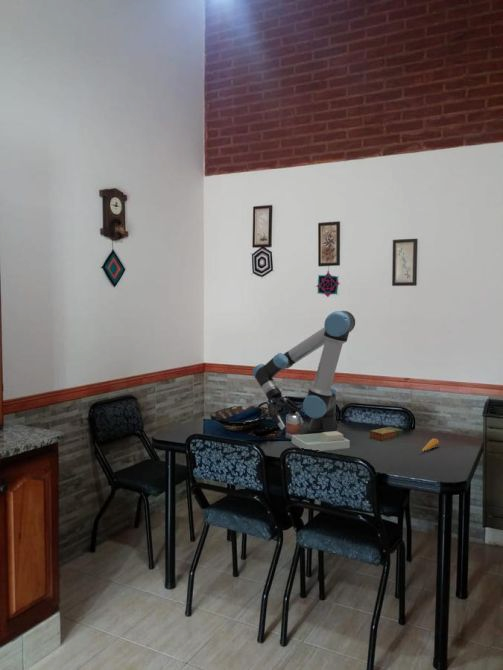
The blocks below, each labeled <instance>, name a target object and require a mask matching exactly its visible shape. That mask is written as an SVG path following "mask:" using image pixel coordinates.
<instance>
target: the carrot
mask: <svg viewBox="0 0 503 670" xmlns="http://www.w3.org/2000/svg"><path fill="white" fill-rule="evenodd" d="M437 445H439V446H440V441H439V439H437V438H432V439H430V440H429V441H428V442H427V443H426V444H425V446H423V448H422V449H421V450H422V451H424V450H427V449H430V448H433V447H435V446H437ZM437 447H438V446H437Z"/></svg>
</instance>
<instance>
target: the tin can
mask: <svg viewBox="0 0 503 670" xmlns="http://www.w3.org/2000/svg"><path fill="white" fill-rule="evenodd" d="M299 414H300V413H299ZM299 414H294V413H288V414H286V417H285V421H286V422H285V438H286V439H289V440H292V436H293V435H301V425H300V424H301V422H300V420H301V418H302V415H301V414H300V415H299Z"/></svg>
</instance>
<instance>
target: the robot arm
mask: <svg viewBox="0 0 503 670" xmlns="http://www.w3.org/2000/svg"><path fill="white" fill-rule="evenodd" d="M324 320H325V321H324V326H323V327H322V328H321V329H319V330H318V331H317V332H314V333H313V334H312V335H310V336H308V337H307V338H305V339H304V340H302V341H301V342H299V343H298V344H296V345H294V347H291V348H290V349H289V350H288V351H286V352H284V353H281V352H277V354H275V355H274V356H273V357H272V358H270V360H269V361H268V362H267V363H266V364H264V363H260V364H257V365H256V366H254V367H253V368H252V371H251V372H252V374H253V377H254V378H255V380H256V382H257V383H258V385H259V386H260V388H261V389H262V391H263V393H264V395H265V396H266V399H267V401H266V402H265V403H266V405H267V410H268V418H270V419H271V420H274V421H275V423H276V424H277V425H278V427H279V428H280V430H281V431H283V430H284V429H285V428H286V424H285V423H284V422H283V420H282V419H281V417H280V415H278V411H279V410H278V409H279V408H284V409H286V410H288V411H289V412H291V414H299V415H301V414H300V412H299V411H300V410H301V408H300V407H298V405H296V404H295V402H293V401H292V400H291V399H290V398H289V397H288V396H287V395H286V396H283V395H282V391H281V390H280V388H279V386H278V385H277V383H276V381H275V380H274V377H275V376H276V375H277V374H279V372H281V371H284V370H286V369H289V368H291V367H292V366H293V365H295V364H296V363H298V362H299V361H301V360H302V359H304V358H306V357H307V356H309V355H310V354H312V353H314V352H315V351H317V350H318V349H320V348H321V347H323V348H322V352H321V355H320V359H319V363H318V365H317V371H316V374H315V377H314V382H313V385H311V386H309V389H308V392H307V395H306V397H305V398H304V400H303V402H302V409H303V411H304V413H305V415H307V416H308V417H309V418H311V421H310V422H309V426H308V431H309V432H310V433H311V434H316V433H322V432H333V431H338V432H339V426H338V423H337V419H336V408H337V407H336V404H337V403H336V402H337V398H336V397H337V392H336V391H337V390H336V389H335V388H332V384H333V381H334V377H335V373H336V370H337V366H338V362H339V359H340V355H341V352H342V348H343V344H345V343H347V342H348V338H349V336H350V333H351V332H352V331H354V329H355V326H356V318H355V316H354V315H353V313H351V312H350V311H347V310H337V311H336V310H335V311H333V312H331V313H329V314H328V315H327V317H326V318H325V319H324ZM300 422H301V424H300V426H302V425H303V424H304V419H303V418H302V417H301V420H300Z"/></svg>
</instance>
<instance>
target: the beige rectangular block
mask: <svg viewBox="0 0 503 670" xmlns="http://www.w3.org/2000/svg"><path fill="white" fill-rule="evenodd" d="M343 438H344V434H343V433H341V432H340V431H339V430H338V431H333V432H322V443H323V442H334V441H343Z"/></svg>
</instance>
